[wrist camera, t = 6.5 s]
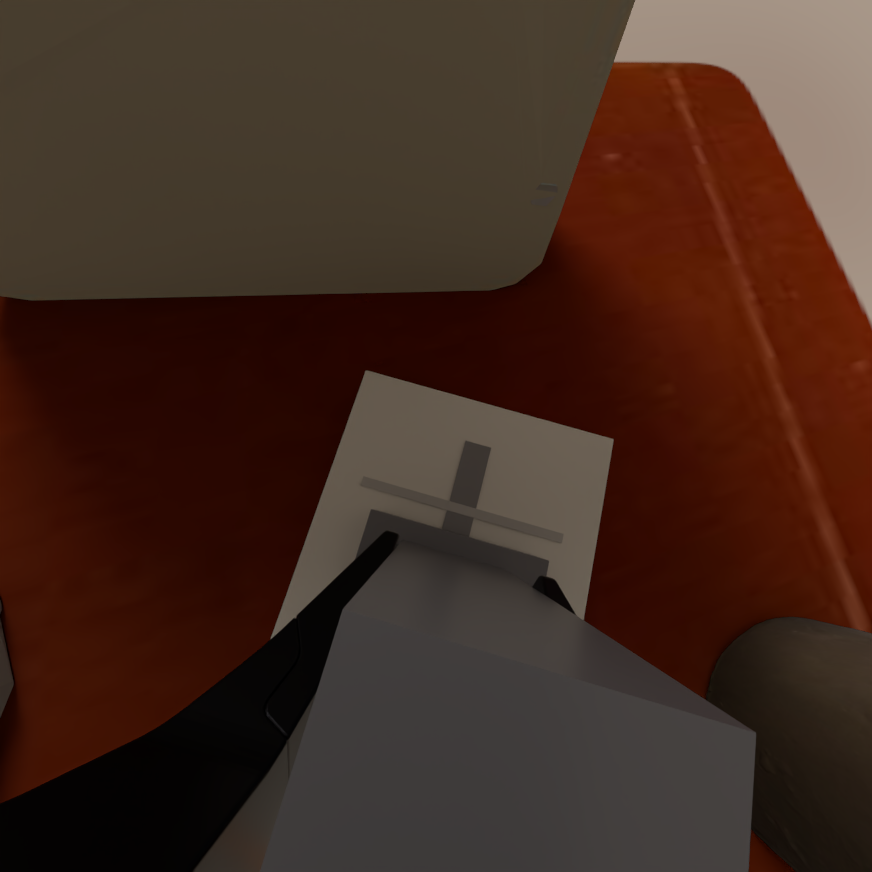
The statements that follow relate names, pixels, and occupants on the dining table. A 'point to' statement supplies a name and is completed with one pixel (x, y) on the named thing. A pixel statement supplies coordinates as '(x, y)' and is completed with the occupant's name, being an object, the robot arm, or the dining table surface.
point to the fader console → (457, 484)
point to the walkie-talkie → (4, 671)
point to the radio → (290, 142)
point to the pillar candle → (805, 737)
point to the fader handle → (502, 734)
